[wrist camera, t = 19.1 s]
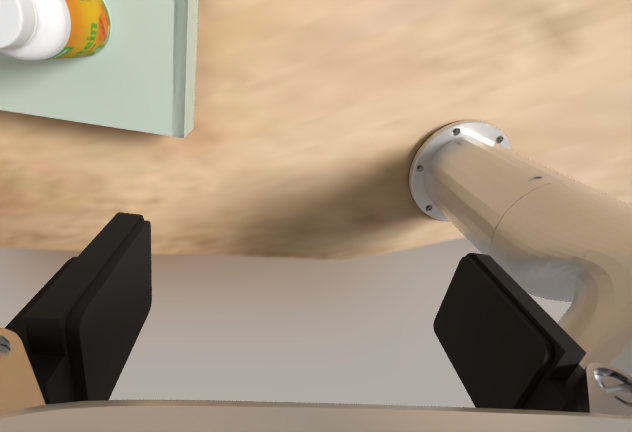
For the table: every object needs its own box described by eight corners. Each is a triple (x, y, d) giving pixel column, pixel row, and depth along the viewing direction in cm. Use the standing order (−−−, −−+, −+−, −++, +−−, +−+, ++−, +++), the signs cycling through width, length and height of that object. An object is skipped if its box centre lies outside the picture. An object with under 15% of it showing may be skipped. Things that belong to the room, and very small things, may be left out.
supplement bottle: (87, 72, 28) (2, 86, 19) (19, 13, 26) (-112, -1, 17) (129, 20, 26) (59, 10, 18) (61, -47, 24) (-56, -94, 16)
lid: (201, -75, 28) (190, -92, 24) (193, 128, 34) (184, 138, 31) (-39, -137, 25) (-92, -167, 21) (4, 97, 31) (-31, 105, 28)
